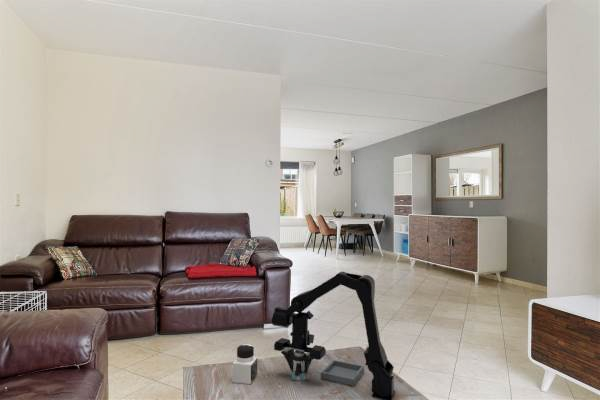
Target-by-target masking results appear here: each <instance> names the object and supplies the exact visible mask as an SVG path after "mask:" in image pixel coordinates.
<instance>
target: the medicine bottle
mask: <svg viewBox="0 0 600 400" xmlns="http://www.w3.org/2000/svg"><path fill="white" fill-rule="evenodd" d="M254 348H255V347H254V346H253V345H251V344H248V343H246V344H245V343H244V344H240V345H239V346H237V348H236V358H235V360H234V361H233V362H232V383H237V384H244V385H252V384H253V382H254V381H255V379H256V378H257V377H258V357H257V356H255V355H254V354H255V353H254V352H255V349H254Z"/></svg>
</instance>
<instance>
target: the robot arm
mask: <svg viewBox="0 0 600 400" xmlns="http://www.w3.org/2000/svg"><path fill="white" fill-rule="evenodd" d="M375 283H376V281H375V279H374V277H372V276H371V275H368V274H363V275H361V274H356V273H355V274H354V273H350V272H346V271H339V272H338V273H336V274H335V275H334V276H332V277H331V278H329V279H328V280H326V281H324V282H323V283H321V284H319V285H318V286H316V287H314V288H312V289H310V290H307V291H303V292H301V293H299V294H297V295H296V296H294V297H293V298H291V300H290V306H289V307H288V308H285V307H280V306H276V307H274V312H273V314H272V317H271V324H272V326H275V327H281V328H287V329H288V328H290V326H291V332H290V333H289V334H290V336H291V340H290V339H288V338H283V337H281V338H279V339H278V340H276V341H275V342H274V344H273V350H274V351H278V352H280V354H281V355H283V356H284V359H285V360H286V362H287V364H288V366H289V369H290V371H292V370H293V369H294V360H293V356H292V353H294V352H295V351H296V350H297V351H302V352H304V353H306V354H307V356H306V357H304V371H305V374H306V375H307V374H308V371H309V368H310V366H311V363H312V361H313V360H318V361H319V360H321V359H322V358H324V357H325V355H326V352H327V350H326V348H325V346H323V345H316V344H315V345H314V346H313V347H310V346H311V344H314V339H315V334H311V333H310V330H309V329H308V328H309V326H308V324H309V320H311V319H312V318H314V314H313V313H312V312H311V311H310V310H308V311H306V312H304V311H305V310H307V308H309V307H310V306H311V305H312V304H313V303H315V301H317V300H318V299H320V298H321V297H322V296H324V295H326V294H328V293H329V292H331V291H333V290H334V289H336V288H337V287H340V286H341V285H342V286H344V287H346V288H348V289H350V290H353V291H355V292H356V295H357V298H358V299H359V302H360V303H361V306H362V313H363V320H364V325H365V331H366V332H365V333H366V337H367V339H366V340H367V343H368V346H367V347H366V349H365V350H364V352H363V355H364V359H365V366H367V369H368V371H369V372H370V373H371V374H372V377H373V378H372V379H371V392H372V393H371V397H373V398H375V399H376V398H377V399H381V400H393V398H394V396H395V393H396V391H395V389H394V387H395V386H394V385H395V382H394V381H395V376H394V375H393V371H394V368H395V367H394V365H393V364H392V363H391V362H390V360H388V356H387V352H386V351H385V348H384V346H383V344H382V343H381V336H380V330H379V324H378V320H377V312H376V306H375V293H376V291H375V290H376V284H375Z"/></svg>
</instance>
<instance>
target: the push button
mask: <svg viewBox="0 0 600 400" xmlns="http://www.w3.org/2000/svg"><path fill="white" fill-rule="evenodd" d="M292 356H293V360H294V367H293V370H291V381H305V379H310V377H309V376H310V374H307V373H306V374H305V371H304V357H306V356H307V353H306V352H302V351H297V350H294V353H292Z"/></svg>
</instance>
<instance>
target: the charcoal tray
mask: <svg viewBox="0 0 600 400" xmlns="http://www.w3.org/2000/svg"><path fill="white" fill-rule="evenodd" d="M364 373H365V365H363V364H357V363H352V362H348V361H347V362H346V361H342V360H338V359H337V360H336V359H332V360H331V361H330V363H328V364H327V366H325V368H323V370H321V372H320V380H322V381H326V382H327V381H328V382H332V383H337V384H339V385H345V386H348V387H349V386H350V387H352V388H354V387H355V386H356V384H357V383H358V381H359V380H360V379H361V377H362V376H363V375H364Z"/></svg>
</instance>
